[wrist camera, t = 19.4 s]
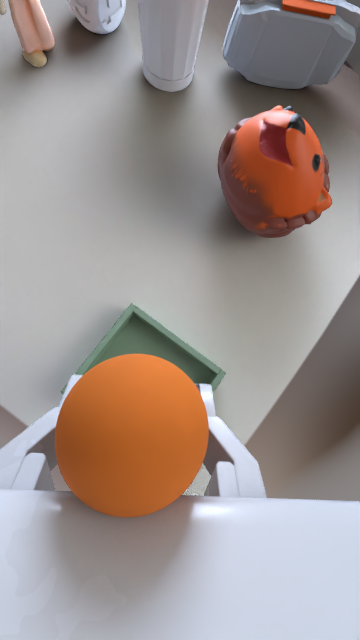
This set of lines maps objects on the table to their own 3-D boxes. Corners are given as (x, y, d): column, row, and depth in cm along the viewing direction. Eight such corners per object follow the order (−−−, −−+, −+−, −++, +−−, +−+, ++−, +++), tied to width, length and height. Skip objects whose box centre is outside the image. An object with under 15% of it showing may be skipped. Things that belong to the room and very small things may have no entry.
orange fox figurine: (191, 179, 32) (213, 77, 20) (265, 148, 33) (323, 38, 22) (242, 268, 30) (295, 211, 19) (316, 230, 32) (404, 158, 21)
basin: (68, 389, 26) (60, 392, 24) (133, 308, 28) (131, 302, 26) (160, 459, 26) (161, 468, 24) (219, 372, 28) (226, 372, 26)
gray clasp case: (325, 78, 36) (374, -1, 28) (326, 97, 36) (375, 21, 28) (219, 59, 35) (239, -29, 27) (218, 79, 34) (238, -6, 26)
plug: (124, 430, 17) (54, 600, 5) (106, 371, 17) (2, 386, 5) (181, 409, 18) (254, 511, 5) (163, 352, 18) (190, 325, 6)
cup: (122, 70, 33) (106, -93, 21) (162, 32, 35) (167, -140, 23) (174, 109, 33) (188, -34, 21) (212, 69, 34) (244, -85, 23)
